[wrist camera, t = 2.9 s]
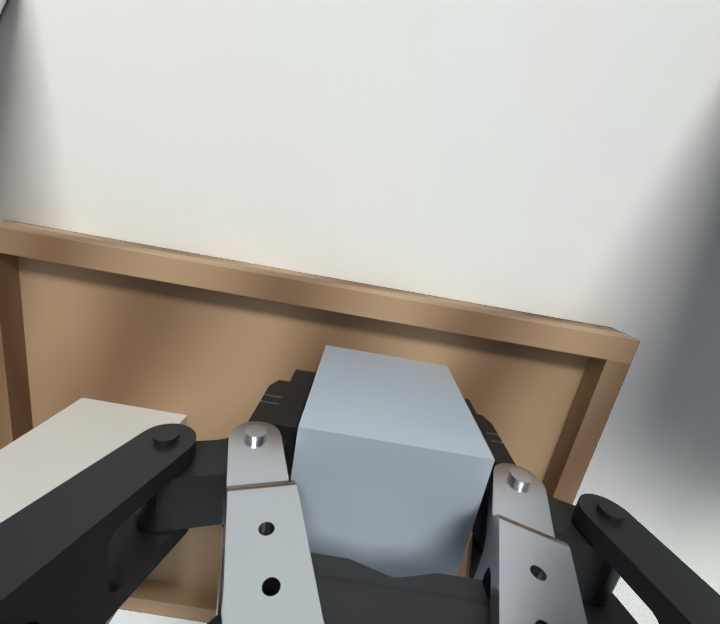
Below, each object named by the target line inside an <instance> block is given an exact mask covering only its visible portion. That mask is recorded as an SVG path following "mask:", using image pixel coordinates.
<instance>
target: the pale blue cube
mask: <svg viewBox="0 0 720 624" xmlns="http://www.w3.org/2000/svg"><path fill="white" fill-rule="evenodd" d="M494 461H495V459H494V457H493V455H492V453H491V451H490V449H489V447H488V445H487V443H486V441H485V439H484V437H483V435H482V433H481V431H480V430H479V428H478V426H477V424H476V422H475V420H474V418H473V416H472V414H471V412H470V410H469V408H468V406H467V404H466V402H465V400H464V398H463V396H462V394H461V392H460V390H459V388H458V386H457V384H456V382H455V380H454V378H453V376H452V374H451V372H450V370H449V369H448V367H447V366H444V365H438V364H433V363H427V362H421V361H415V360H410V359H404V358H398V357H392V356H387V355H381V354H375V353H369V352H364V351H358V350H352V349H346V348H341V347H335V346H329V345H326V346H325V349H324V352H323V355H322V358H321V361H320V364H319V367H318V370H317V373H316V376H315V379H314V382H313V385H312V388H311V391H310V393H309V396H308V399H307V402H306V405H305V408H304V411H303V414H302V417H301V420H300V423H299V426H298V432H297V439H296V446H295V453H294V460H293V466H292V473H291V480H295V482H296V484H297V488H298V494H299V499H300V504H301V509H302V514H303V519H304V524H305V529H306V534H307V539H308V545H309V550H310V552H311V553H317V554H324V555H330V556H336V557H342V558H348V559H351V560H353V561H355V562H358V563H360V564H362V565H365V566H367V567H370V568H372V569H374V570H377V571H379V572H381V573H384V574H386V575H388V576H391V577H396V578H399V577H408V576H417V575H426V574H435V573H441V574H447V575H453V576H457V573H458V570H459V567H460V564H461V561H462V558H463V555H464V552H465V549H466V546H467V543H468V540H469V537H470V534H471V531H472V528H473V525H474V522H475V519H476V516H477V513H478V510H479V507H480V504H481V500H482V497H483V494H484V491H485V488H486V485H487V482H488V479H489V476H490V473H491V470H492V467H493V464H494Z"/></svg>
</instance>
